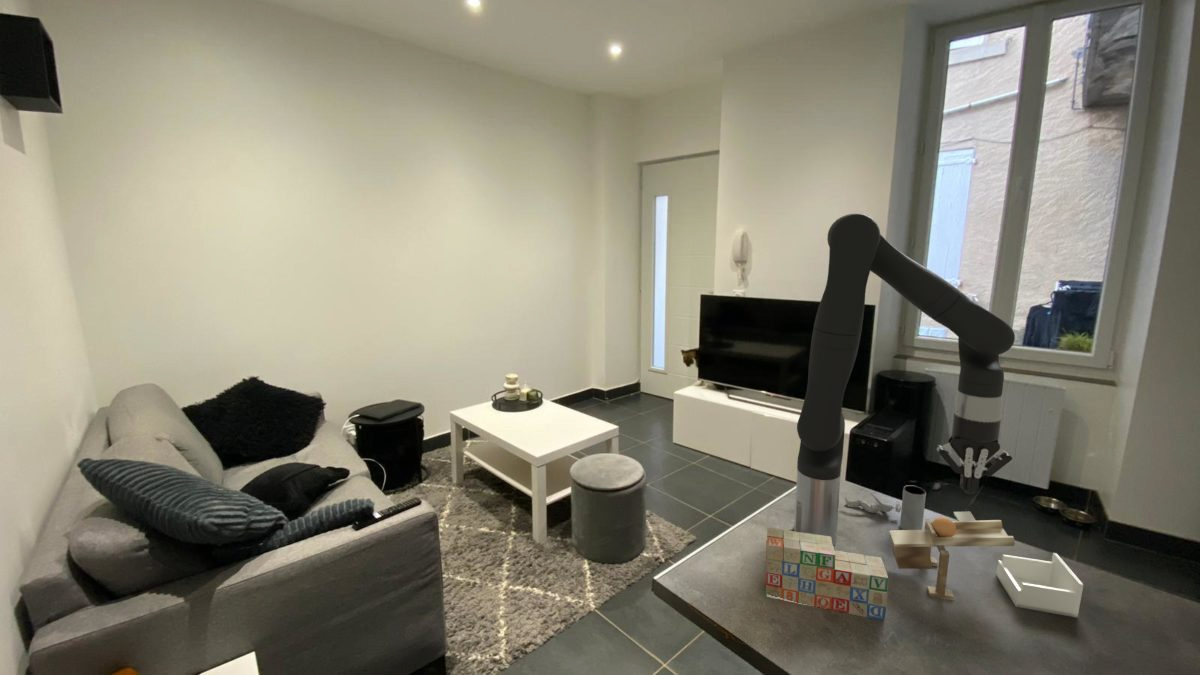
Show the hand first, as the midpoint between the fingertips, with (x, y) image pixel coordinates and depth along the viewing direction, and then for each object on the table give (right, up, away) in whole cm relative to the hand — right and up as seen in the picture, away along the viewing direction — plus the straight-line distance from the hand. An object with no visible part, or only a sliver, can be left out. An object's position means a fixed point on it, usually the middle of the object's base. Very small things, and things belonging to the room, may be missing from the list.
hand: (968, 491), depth 101 cm
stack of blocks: (-33, -20, -4) cm, 39 cm away
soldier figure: (-7, -13, +24) cm, 28 cm away
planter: (-2, -14, +16) cm, 22 cm away
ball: (-7, -6, -3) cm, 10 cm away
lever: (-4, -13, 0) cm, 14 cm away
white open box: (+8, -18, -6) cm, 21 cm away
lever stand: (-8, -18, 0) cm, 20 cm away
